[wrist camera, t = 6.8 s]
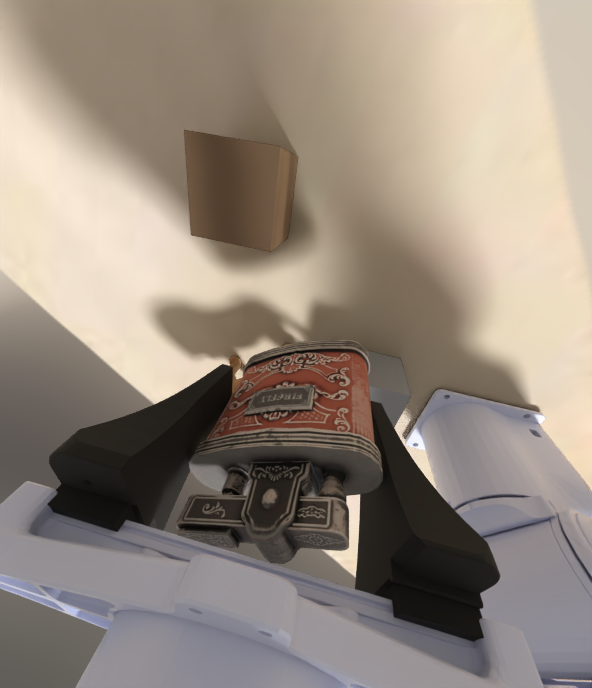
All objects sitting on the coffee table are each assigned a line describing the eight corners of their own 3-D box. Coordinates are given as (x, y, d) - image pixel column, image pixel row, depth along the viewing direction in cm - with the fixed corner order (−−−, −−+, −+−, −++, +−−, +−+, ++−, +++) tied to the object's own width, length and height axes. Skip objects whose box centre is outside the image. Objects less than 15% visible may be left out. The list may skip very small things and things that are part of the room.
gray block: (400, 357, 23) (411, 396, 19) (381, 398, 25) (387, 439, 21) (345, 345, 23) (343, 379, 19) (332, 385, 26) (328, 424, 22)
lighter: (364, 331, 14) (385, 529, 6) (373, 378, 16) (399, 588, 8) (239, 352, 17) (129, 516, 8) (257, 391, 18) (179, 562, 10)
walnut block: (298, 157, 17) (280, 146, 12) (288, 238, 19) (270, 251, 15) (225, 144, 17) (184, 129, 13) (225, 225, 20) (190, 235, 15)
